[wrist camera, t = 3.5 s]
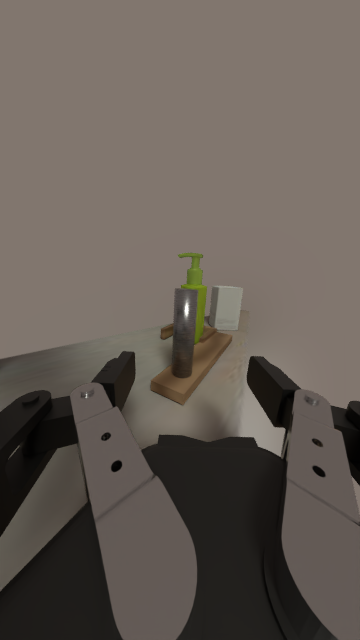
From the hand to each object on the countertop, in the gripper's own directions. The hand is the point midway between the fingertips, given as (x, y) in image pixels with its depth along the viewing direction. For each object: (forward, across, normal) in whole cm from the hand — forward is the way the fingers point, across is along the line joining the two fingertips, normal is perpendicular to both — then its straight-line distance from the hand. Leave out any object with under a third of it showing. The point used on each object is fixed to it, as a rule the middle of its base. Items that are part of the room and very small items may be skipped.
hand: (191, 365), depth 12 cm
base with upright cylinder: (+21, 0, +9) cm, 23 cm away
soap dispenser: (+29, -2, +9) cm, 30 cm away
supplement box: (+41, -13, +9) cm, 44 cm away
